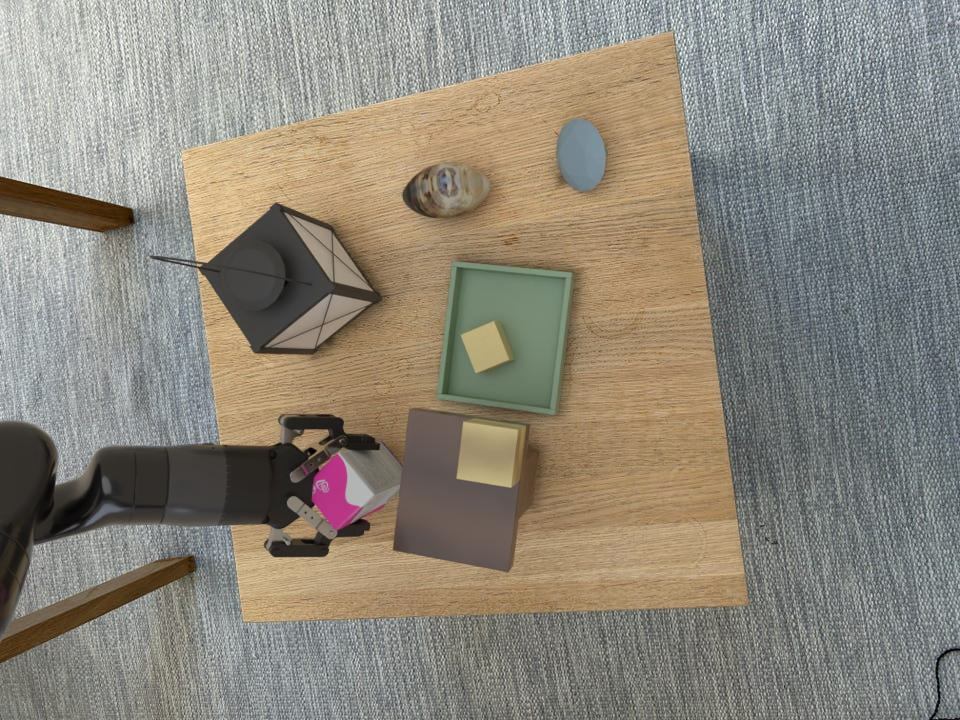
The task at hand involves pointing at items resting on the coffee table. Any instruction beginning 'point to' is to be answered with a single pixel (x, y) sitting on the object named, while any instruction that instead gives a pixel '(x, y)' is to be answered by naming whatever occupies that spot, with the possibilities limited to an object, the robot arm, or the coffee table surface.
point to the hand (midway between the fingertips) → (372, 484)
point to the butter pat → (487, 347)
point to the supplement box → (356, 484)
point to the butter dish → (508, 335)
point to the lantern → (287, 282)
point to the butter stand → (464, 488)
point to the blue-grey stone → (581, 154)
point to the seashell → (446, 190)
